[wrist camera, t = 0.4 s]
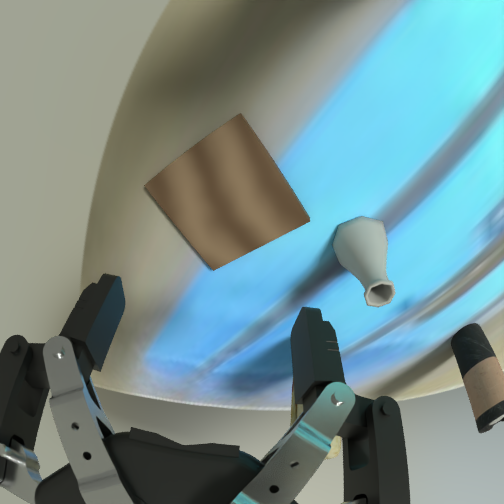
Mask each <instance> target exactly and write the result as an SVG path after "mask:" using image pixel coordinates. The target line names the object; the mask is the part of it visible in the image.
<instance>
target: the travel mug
mask: <svg viewBox="0 0 504 504" xmlns="http://www.w3.org/2000/svg"><path fill="white" fill-rule="evenodd" d="M451 345H452V349H453V352H454V354H455V357H456V360H457V363H458V366H459V369H460V372H461V375H462V379H463V382H464V385H465V388H466V391H467V393H468V397H469V400H470V403H471V406H472V410H473V413H474V417H475V420H476V424H477V428H478V431H479V433H484V432H486V431H489V430H490V429H492V427H493V425H495V424H496V423H498V422H500V421H504V374H503V371H502V369H501V366H500V364H499V362H498V359H497V357H496V355H495V353H494V351H493V349H492V347H491V345H490V343H489V341H488V340H487V338H486V336H485V334H484V332H483V330H482V329H481V327H480V326H479V325H478V324H476V323H473V324H469V325H467V326H465V327H463V328H462V329H461V330H459V331H458V332H457V333H456V334H455V336H454V337H453V339H452V341H451Z"/></svg>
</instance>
